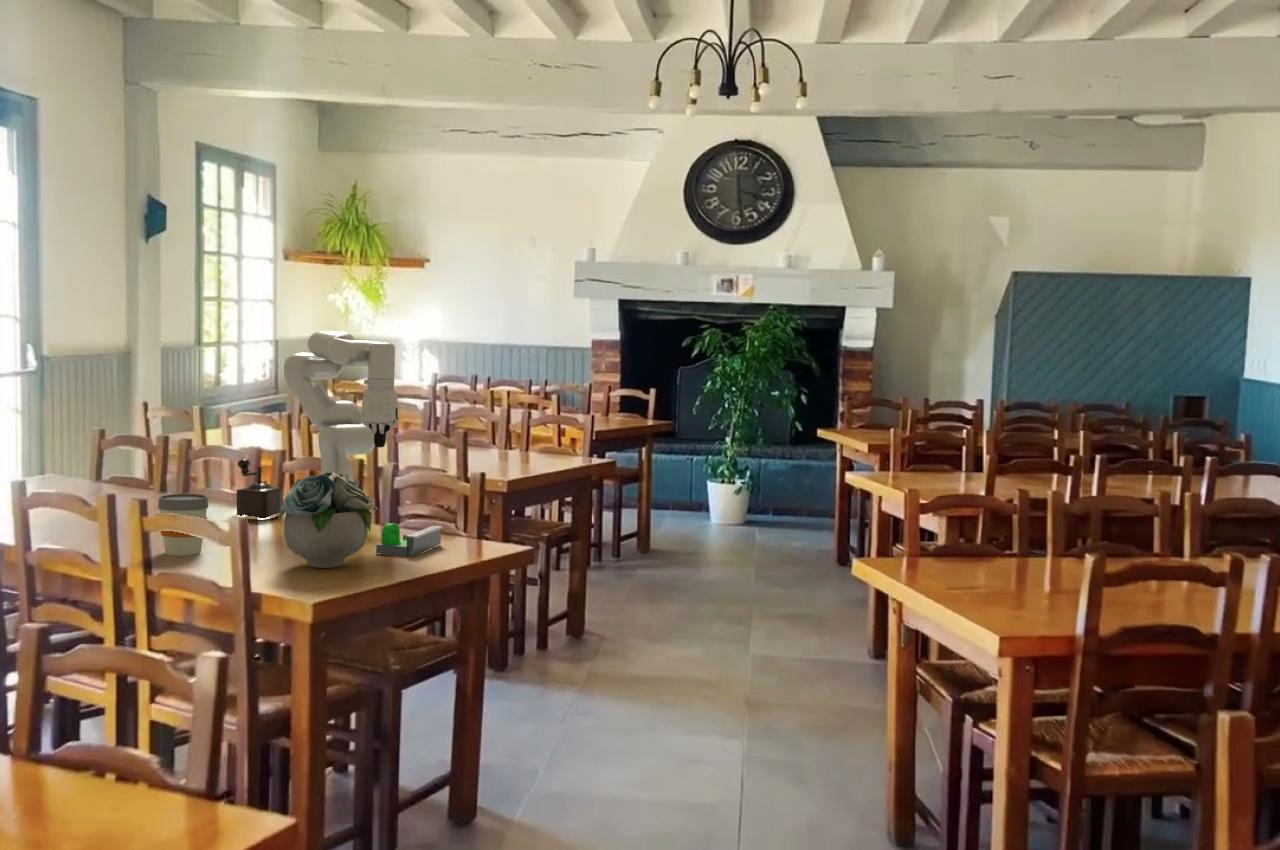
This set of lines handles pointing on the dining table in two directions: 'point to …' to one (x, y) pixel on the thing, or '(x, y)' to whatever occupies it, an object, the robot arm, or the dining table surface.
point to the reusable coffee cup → (185, 506)
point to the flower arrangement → (326, 519)
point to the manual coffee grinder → (257, 496)
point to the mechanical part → (392, 535)
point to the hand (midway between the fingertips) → (379, 446)
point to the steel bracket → (414, 543)
